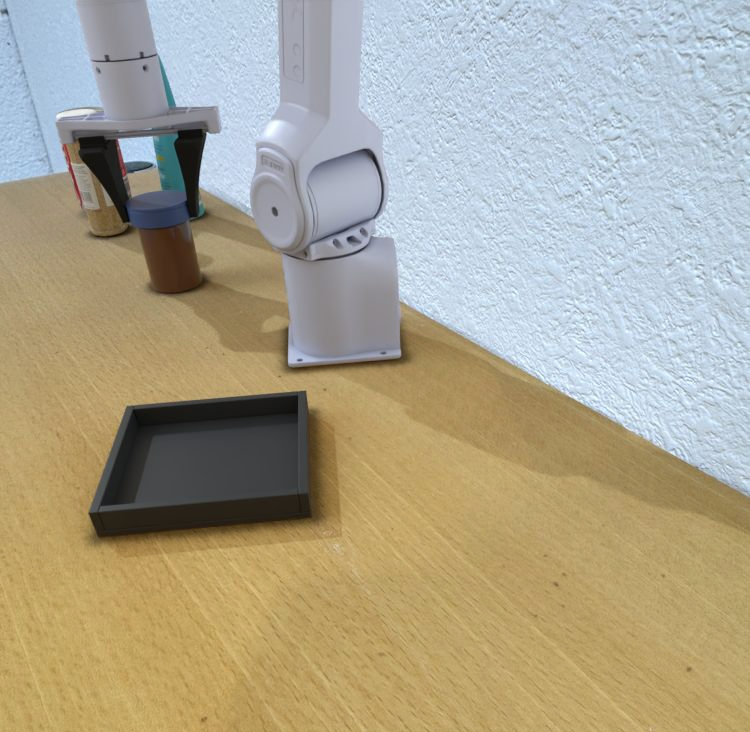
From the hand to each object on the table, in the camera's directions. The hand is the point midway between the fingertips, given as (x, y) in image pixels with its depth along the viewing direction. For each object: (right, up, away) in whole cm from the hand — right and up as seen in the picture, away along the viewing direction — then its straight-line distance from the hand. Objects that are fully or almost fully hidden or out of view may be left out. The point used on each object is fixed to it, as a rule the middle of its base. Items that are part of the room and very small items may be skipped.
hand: (162, 217), depth 69 cm
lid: (0, +1, -1) cm, 1 cm away
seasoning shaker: (-15, +11, +26) cm, 32 cm away
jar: (0, -5, +4) cm, 7 cm away
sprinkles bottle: (-12, +6, +19) cm, 23 cm away
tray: (+10, -26, -22) cm, 35 cm away
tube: (-4, +9, +22) cm, 24 cm away
